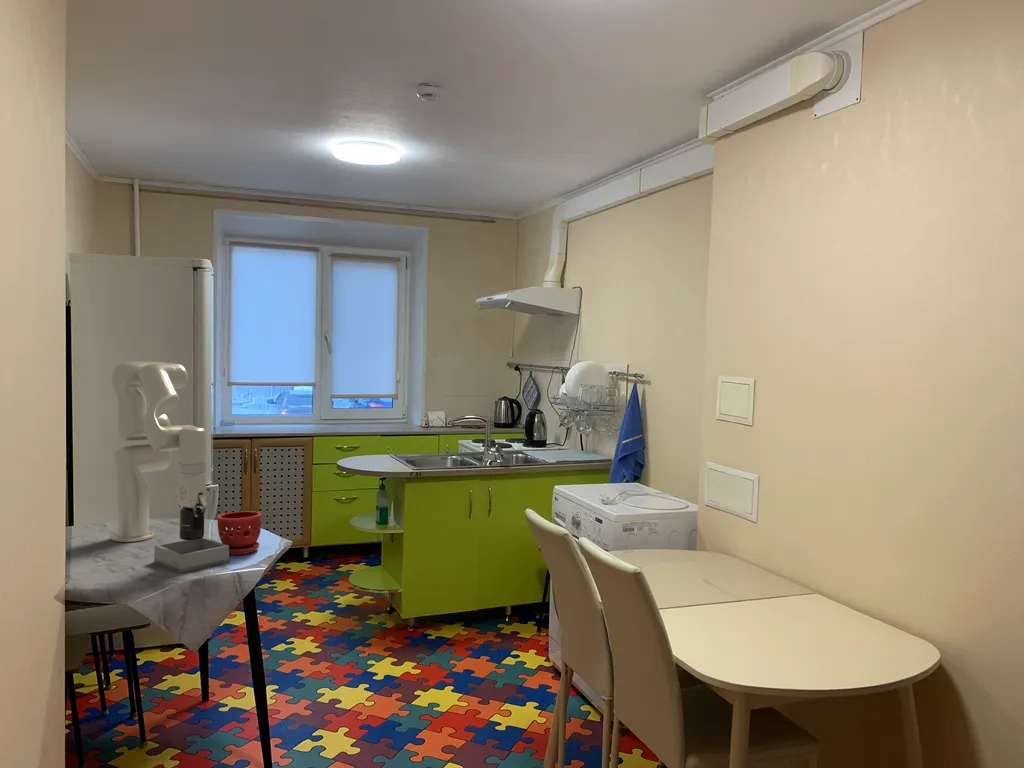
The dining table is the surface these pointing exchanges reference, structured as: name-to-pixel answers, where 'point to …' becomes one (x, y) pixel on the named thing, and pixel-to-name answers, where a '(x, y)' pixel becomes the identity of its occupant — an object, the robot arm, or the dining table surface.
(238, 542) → the plant pot
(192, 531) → the supplement bottle
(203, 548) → the tray
